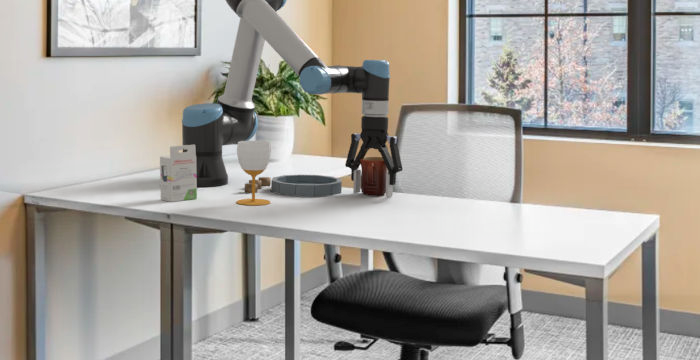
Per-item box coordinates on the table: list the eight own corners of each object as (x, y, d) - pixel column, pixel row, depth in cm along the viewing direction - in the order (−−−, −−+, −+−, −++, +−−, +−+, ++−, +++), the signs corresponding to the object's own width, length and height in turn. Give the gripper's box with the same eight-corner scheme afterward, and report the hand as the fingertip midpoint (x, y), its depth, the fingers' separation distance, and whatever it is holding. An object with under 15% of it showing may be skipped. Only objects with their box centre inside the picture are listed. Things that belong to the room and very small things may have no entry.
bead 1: (242, 192, 250) (242, 184, 250) (249, 191, 253) (249, 182, 253) (252, 193, 248) (252, 185, 248) (260, 192, 251) (260, 183, 251)
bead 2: (246, 188, 257) (246, 180, 256) (253, 187, 260) (253, 179, 259) (256, 190, 255) (256, 181, 254) (263, 188, 258) (263, 180, 258)
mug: (361, 191, 257) (362, 156, 255) (391, 192, 255) (392, 157, 254) (353, 197, 245) (354, 161, 244) (384, 199, 244) (385, 162, 242)
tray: (258, 191, 252) (258, 180, 251) (297, 183, 269) (297, 172, 268) (317, 198, 242) (317, 187, 241) (354, 189, 259) (354, 179, 259)
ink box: (186, 196, 241) (186, 142, 238) (197, 199, 237) (197, 144, 235) (159, 199, 235) (158, 144, 232) (169, 202, 231) (169, 146, 229)
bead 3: (255, 186, 262) (256, 178, 262) (263, 184, 265) (263, 176, 265) (265, 187, 260) (265, 179, 260) (272, 185, 263) (273, 177, 263)
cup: (261, 206, 228) (262, 144, 226) (230, 203, 231) (230, 142, 229) (276, 201, 237) (277, 141, 234) (245, 198, 240) (246, 139, 237)
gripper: (333, 113, 249) (332, 192, 253) (404, 118, 238) (402, 200, 241) (347, 112, 256) (345, 188, 259) (416, 117, 245) (414, 196, 248)
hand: (372, 194), depth 250 cm, fingers open, 10 cm apart
